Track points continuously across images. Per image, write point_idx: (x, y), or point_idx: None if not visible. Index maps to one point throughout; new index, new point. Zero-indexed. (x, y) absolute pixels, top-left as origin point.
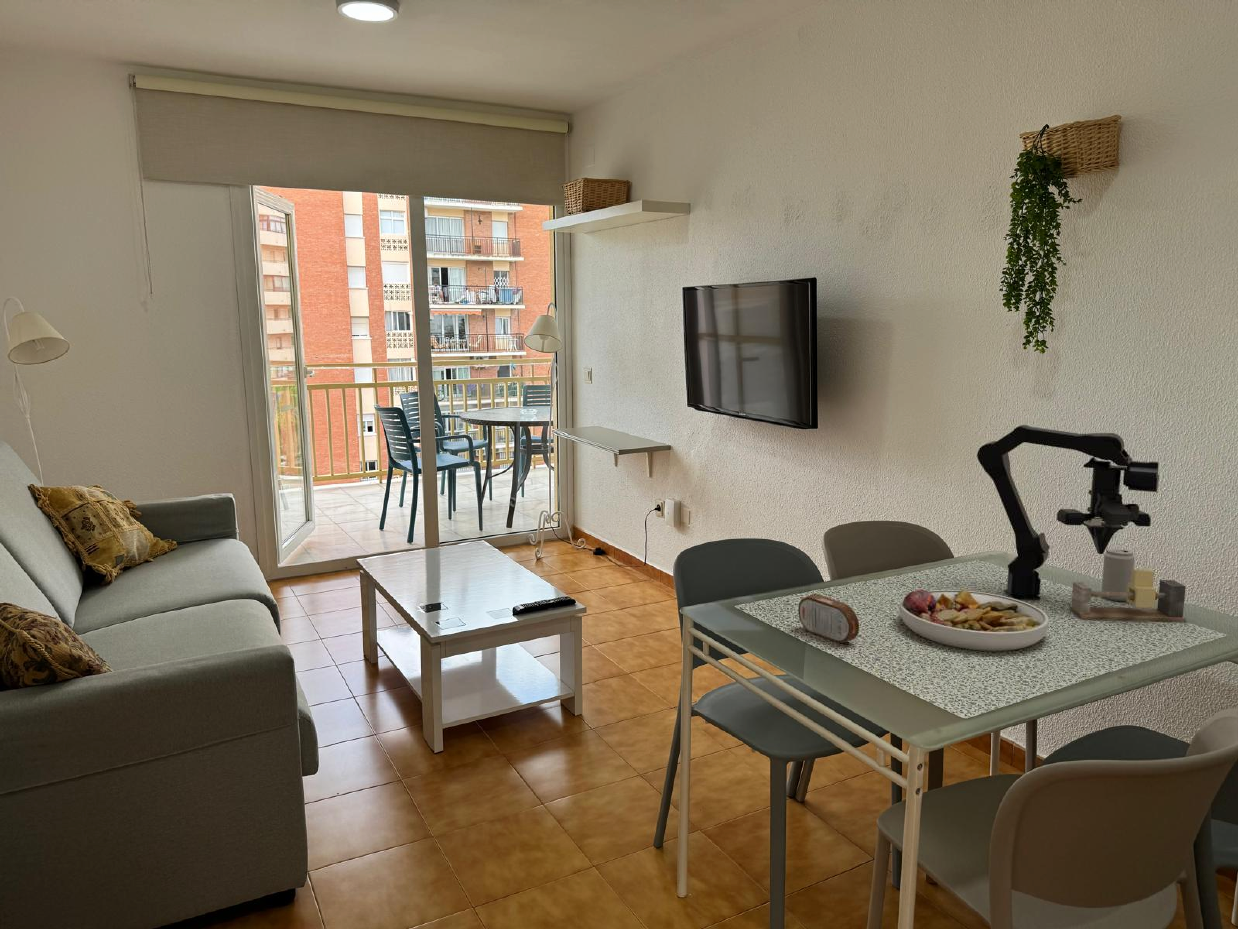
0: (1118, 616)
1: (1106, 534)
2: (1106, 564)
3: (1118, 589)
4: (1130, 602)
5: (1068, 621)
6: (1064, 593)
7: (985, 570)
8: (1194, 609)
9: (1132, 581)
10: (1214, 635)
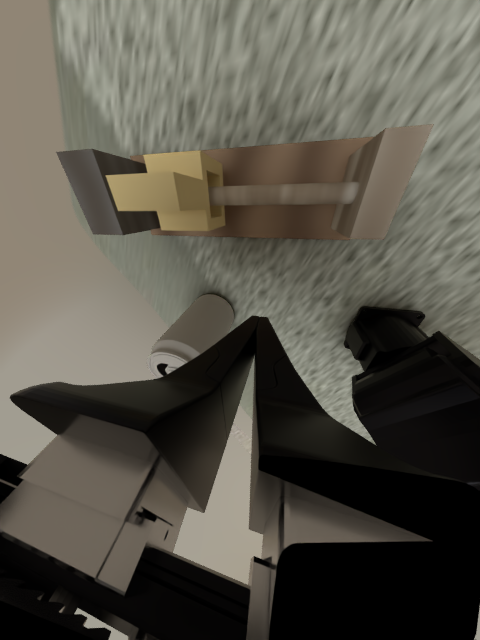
0: (273, 152)
1: (222, 383)
2: None
3: (212, 304)
4: None
5: (446, 104)
6: (284, 336)
7: None
8: (117, 256)
9: (199, 197)
10: (78, 11)
